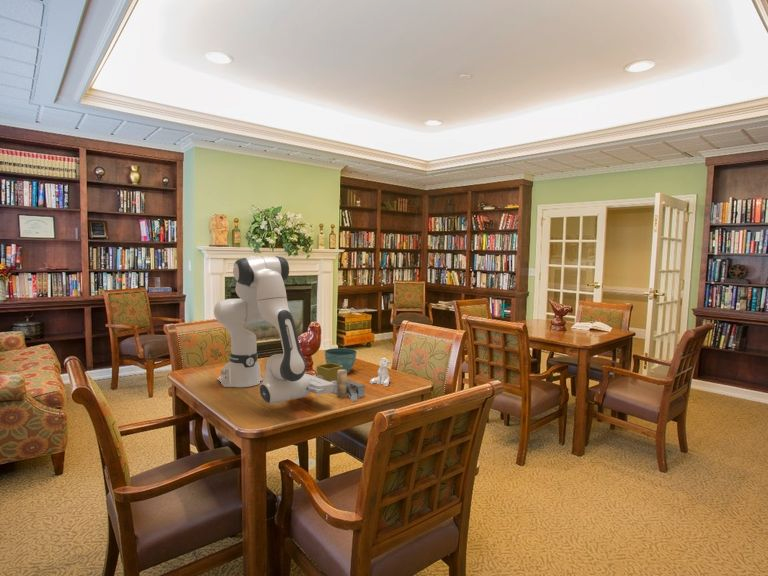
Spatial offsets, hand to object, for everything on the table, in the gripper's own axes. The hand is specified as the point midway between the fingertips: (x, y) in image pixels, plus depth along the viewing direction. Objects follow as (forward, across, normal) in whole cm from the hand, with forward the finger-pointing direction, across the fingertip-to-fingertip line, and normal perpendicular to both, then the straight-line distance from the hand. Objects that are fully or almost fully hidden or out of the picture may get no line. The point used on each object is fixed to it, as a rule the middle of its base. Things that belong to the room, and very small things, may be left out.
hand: (328, 380), depth 192 cm
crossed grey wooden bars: (+10, 0, +8) cm, 13 cm away
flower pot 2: (+13, +17, +8) cm, 23 cm away
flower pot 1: (+31, +32, +8) cm, 45 cm away
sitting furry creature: (+34, +4, +8) cm, 35 cm away
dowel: (+7, 0, +8) cm, 11 cm away
